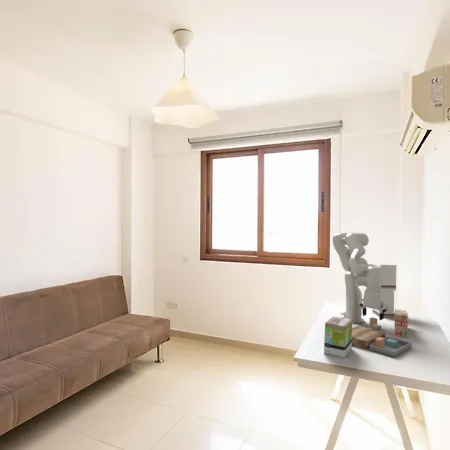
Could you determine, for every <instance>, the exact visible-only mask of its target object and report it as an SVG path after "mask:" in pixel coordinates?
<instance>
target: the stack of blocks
mask: <svg viewBox="0 0 450 450" xmlns="http://www.w3.org/2000/svg"><path fill="white" fill-rule="evenodd" d="M394 316H395V317H394V336H395V337H399V338H400V337H401V338H408V326H409V314H408V311H407V309H405V310H404V309H395V308H394Z"/></svg>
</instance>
